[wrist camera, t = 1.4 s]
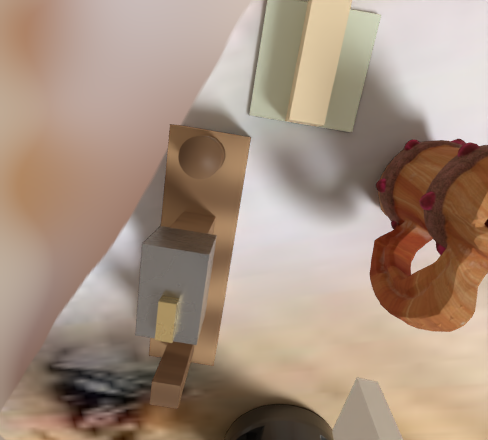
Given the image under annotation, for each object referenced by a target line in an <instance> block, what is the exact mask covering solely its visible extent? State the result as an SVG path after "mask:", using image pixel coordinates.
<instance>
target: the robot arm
mask: <svg viewBox="0 0 488 440" xmlns="http://www.w3.org/2000/svg"><path fill="white" fill-rule="evenodd" d="M224 440H403V438H402V436H401V434H400V431H399V429H398V427H397V424H396V422H395V420H394V418H393V415H392V413H391V411H390V409H389V406H388V404H387V402H386V399H385V397H384V395H383V393H382V390H381V388H380V386H379V384H378V382H376V381H372V380H367V379H363V378H358V377H357V378H356V380H355V383H354V385H353V387H352V389H351V391H350V393H349V395H348V398H347V400H346V402H345V404H344V406H343V408H342V411H341V413H340V415H339V417H338V419H337V421H336V424H335V426H334V428H333V430H332V429H331V428H330V426H329V425H328V424H327V423H326V422H325V421H324V420H323V419H322V418H321V417H319V416H318V415H316V414H314V413H313V412H311V411H309V410H306V409H303V408H300V407H296V406H291V405H269V406H263V407H260V408H256V409H254V410H251V411H249V412H247V413H245V414H244V415H242V416H241V417H239V418H238V419H237V420H236V421H235V422H234V423H233V424H232V425H231V427H230V428H229V430H228V431H227V433H226V436H225V439H224Z"/></svg>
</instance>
